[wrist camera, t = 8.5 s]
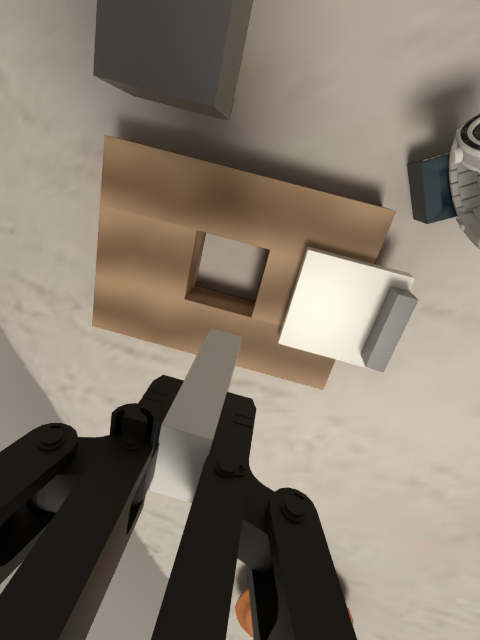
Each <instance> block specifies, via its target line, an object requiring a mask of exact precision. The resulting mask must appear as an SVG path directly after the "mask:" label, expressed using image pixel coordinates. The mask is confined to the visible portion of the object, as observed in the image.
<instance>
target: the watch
mask: <svg viewBox="0 0 480 640" xmlns="http://www.w3.org/2000/svg"><path fill="white" fill-rule="evenodd" d="M407 167H408V176H409V184H410V193H411V201H412V209H413V218H414V219H415V220H417V221H420V222H423V223H426V224H429V223H433V222H437V221H441V220H445V219H448V218H452V217H456V216H458V217H457V218H456V220H457V222H458V223H459V226H460V229H461V230H463V231H464V233H465V234H466V236H467V237H468V238H469V239H470V240H471V241H472V243H473V244H474V245H475V246H476V247H478V248H479V249H480V114H478V115H476V116H474V117H473V118H471V119H469V120H468V121H467V122H466V123H464V124H463V126H462V127H460V128H458V129H457V130H456V134H455V138H454V141H453V145H452V147H451V151H450V152H447V153H444V154H440V155H437V156H434V157H431V158H427V159H424V160H421V161H417V162H414V163H411V164H407Z"/></svg>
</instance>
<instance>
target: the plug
mask: <svg viewBox="0 0 480 640" xmlns="http://www.w3.org/2000/svg"><path fill="white" fill-rule="evenodd" d="M252 3H253V0H97V15H96V34H95V54H94V74H93V75H94V76H96V77H98V78H100V79H101V80H103V81H105V82H107V83H109V84H111V85H113V86H115V87H117V88H119V89H121V90H123V91H125V92H127V93H129V94H131V95H133V96H136V97H140V98H144V99H148V100H151V101H155V102H159V103H163V104H167V105H171V106H175V107H179V108H182V109H186V110H190V111H194V112H198V113H202V114H206V115H210V116H214V117H217V118H221V119H225V120H229V121H230V116H231V111H232V106H233V100H234V95H235V90H236V85H237V80H238V75H239V70H240V65H241V60H242V54H243V49H244V44H245V39H246V34H247V29H248V24H249V19H250V14H251V8H252Z"/></svg>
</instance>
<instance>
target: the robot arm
mask: <svg viewBox="0 0 480 640" xmlns="http://www.w3.org/2000/svg"><path fill="white" fill-rule="evenodd" d="M242 338H243V337H242V336H238V335H234V334H231V333H227V332H224V331H220V330H216V329H213V328H211V329H210V331H209V333H208V335H207V337H206V339H205V341H204V343H203V345H202V347H201V349H200V351H199V353H198V354H197V356H196V358H195V360H194V362H193V364H192V366H191V368H190V370H189V372H188V374H187V376H186V378H185V380H184V381H183V380H180V379H176V378H173V377H169V376H165V375H162V376H160V377H159V378H157V379H155V380H154V381H153V382H152V383H151V385H150V386H149V388H148V389H147V391H146V392H145V394H144V395H143V398H142V399H141V400H140V402H139V403H138V404H136V403H133V404H125V405H123V406H120V407H118V408H117V409H116V410H114V411H113V412H112V416H111V427H110V435H108V436H104V437H94V438H93V437H78V436H77V433H76V430H74V429H73V428H72V427H71V426H69V425H66V424H63V423H50V424H45V425H42V426H40V427H37V428H36V429H33V430H32V431H30V432H29V433H27V434H26V435H24V436H23V437H22V438H20V439H19V440H17V441H16V442H14V443H13V444H11V445H10V446H8V447H7V448H5V449H4V450H2V451H1V452H0V584H1V583H2V582H3V581H4V580H5V579H6V578H7V577H8V576H9V575H10V574H11V573H12V572H13V571H14V570H15V569H16V567H18V566H19V565H20V564H21V563H22V564H21V565H20V567H19V568H18V570H17V571H16V573H15V574H14V575H13V577H12V578H11V580H10V581H9V583H8V584H7V586H6V587H5V589H4V590H3V592H2V593H1V594H0V640H85V639H86V637H87V634H88V632H89V630H90V627H91V625H92V623H93V621H94V618H95V616H96V613H97V611H98V609H99V607H100V604H101V602H102V600H103V598H104V595H105V593H106V591H107V589H108V586H109V584H110V582H111V579H112V577H113V575H114V573H115V570H116V568H117V566H118V563H119V561H120V559H121V557H122V554H123V552H124V549H125V547H126V545H127V543H128V541H129V538H130V536H131V534H132V531H133V529H134V527H135V525H136V522H137V520H138V518H139V515H140V513H141V511H142V509H143V505H144V501H145V495H146V493H147V491H148V488H149V486H150V484H151V486H150V491H153V492H156V493H160V494H163V495H166V496H170V497H173V498H177V499H180V500H184V501H187V502H190V503H192V505H191V509H190V512H189V515H188V519H187V522H186V525H185V529H184V532H183V535H182V539H181V542H180V545H179V548H178V552H177V555H176V558H175V562H174V565H173V568H172V572H171V575H170V578H169V582H168V585H167V588H166V592H165V595H164V598H163V602H162V605H161V608H160V611H159V615H158V618H157V621H156V625H155V628H154V631H153V635H152V638H151V640H226V633H227V626H228V619H229V612H230V605H231V598H232V591H233V584H234V577H235V570H236V563H237V558H238V559H239V560H241V561H242V562H244V563H245V564H246V569H247V579H248V588H249V598H250V608H251V618H252V627H253V637H254V640H357V638H356V634H355V631H354V628H353V625H352V622H351V618H350V615H349V612H348V609H347V606H346V602H345V599H344V596H343V593H342V590H341V586H340V583H339V580H338V577H337V574H336V571H335V567H334V564H333V561H332V558H331V555H330V551H329V548H328V545H327V542H326V539H325V535H324V532H323V529H322V526H321V523H320V519H319V516H318V513H317V510H316V508H315V506H314V504H313V502H312V501H311V500H310V499H309V498H308V497H307V496H306V495H305V494H303V493H302V492H300V491H298V490H296V489H292V488H280V489H279V490H277V491H275V492H274V491H272V490H271V489H269V488H268V487H266V486H264V485H263V484H262V483H260V482H259V481H258V480H257V479H256V478H255V477H254V475H253V474H252V472H251V470H250V467H249V455H250V448H251V441H252V434H253V427H254V420H255V414H256V407H255V405H254V402H253V400H252V399H251V398H247V397H243V396H240V395H236V394H233V393H229V392H228V390H229V386H230V382H231V379H232V375H233V371H234V368H235V364H236V360H237V357H238V353H239V349H240V345H241V342H242Z"/></svg>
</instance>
